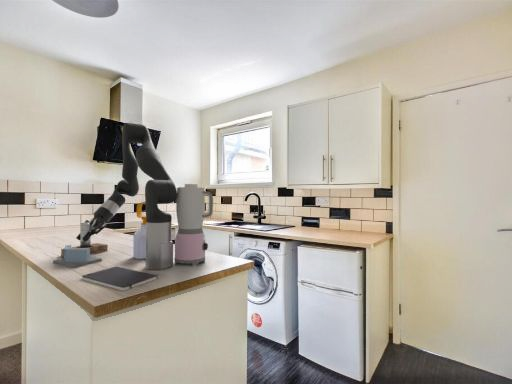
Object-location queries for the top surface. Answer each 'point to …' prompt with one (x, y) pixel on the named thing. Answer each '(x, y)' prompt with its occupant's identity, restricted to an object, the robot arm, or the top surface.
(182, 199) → the blender
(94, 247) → the beam
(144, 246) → the soap bottle
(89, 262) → the v block
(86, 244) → the axle
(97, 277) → the notebook
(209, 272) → the top surface
